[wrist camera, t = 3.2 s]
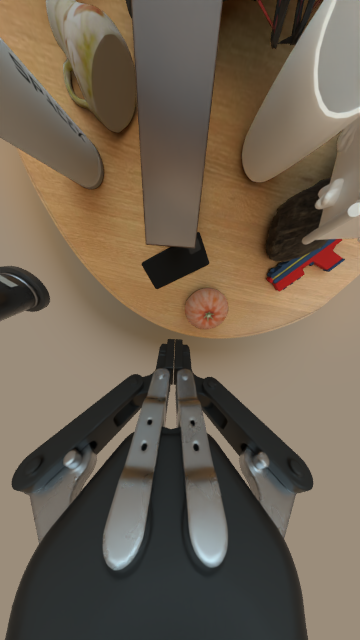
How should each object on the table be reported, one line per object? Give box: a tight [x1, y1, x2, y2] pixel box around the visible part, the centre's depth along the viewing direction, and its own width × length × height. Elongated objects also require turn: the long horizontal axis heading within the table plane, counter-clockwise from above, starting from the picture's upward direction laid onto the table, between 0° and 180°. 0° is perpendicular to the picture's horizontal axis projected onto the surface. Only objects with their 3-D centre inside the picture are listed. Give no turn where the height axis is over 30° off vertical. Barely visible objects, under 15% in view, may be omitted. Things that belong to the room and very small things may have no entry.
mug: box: [46, 0, 136, 133], centre depth 16 cm, size 8×10×10 cm
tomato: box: [185, 288, 228, 329], centre depth 32 cm, size 11×11×8 cm
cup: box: [242, 0, 360, 182], centre depth 15 cm, size 8×8×14 cm
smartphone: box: [142, 232, 209, 289], centre depth 30 cm, size 7×1×15 cm
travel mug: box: [0, 38, 104, 189], centre depth 14 cm, size 6×7×20 cm
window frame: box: [131, 0, 223, 248], centre depth 16 cm, size 13×4×20 cm, turn 176°
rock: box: [266, 177, 331, 262], centre depth 23 cm, size 10×11×10 cm
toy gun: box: [266, 239, 345, 291], centre depth 30 cm, size 15×2×10 cm
